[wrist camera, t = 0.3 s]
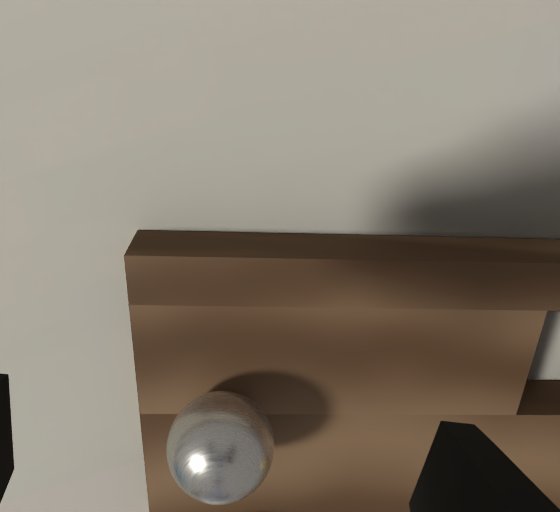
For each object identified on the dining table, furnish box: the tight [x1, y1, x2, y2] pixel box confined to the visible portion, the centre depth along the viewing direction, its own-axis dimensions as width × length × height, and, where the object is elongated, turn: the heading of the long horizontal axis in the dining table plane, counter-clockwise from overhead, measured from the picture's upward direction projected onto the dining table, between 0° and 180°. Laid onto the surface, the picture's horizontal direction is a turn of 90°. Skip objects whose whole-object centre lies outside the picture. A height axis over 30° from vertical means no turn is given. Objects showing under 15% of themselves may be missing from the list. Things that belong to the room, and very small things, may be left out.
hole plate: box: [124, 230, 560, 512], centre depth 21 cm, size 18×24×2 cm
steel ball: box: [166, 391, 275, 505], centre depth 17 cm, size 4×4×4 cm
